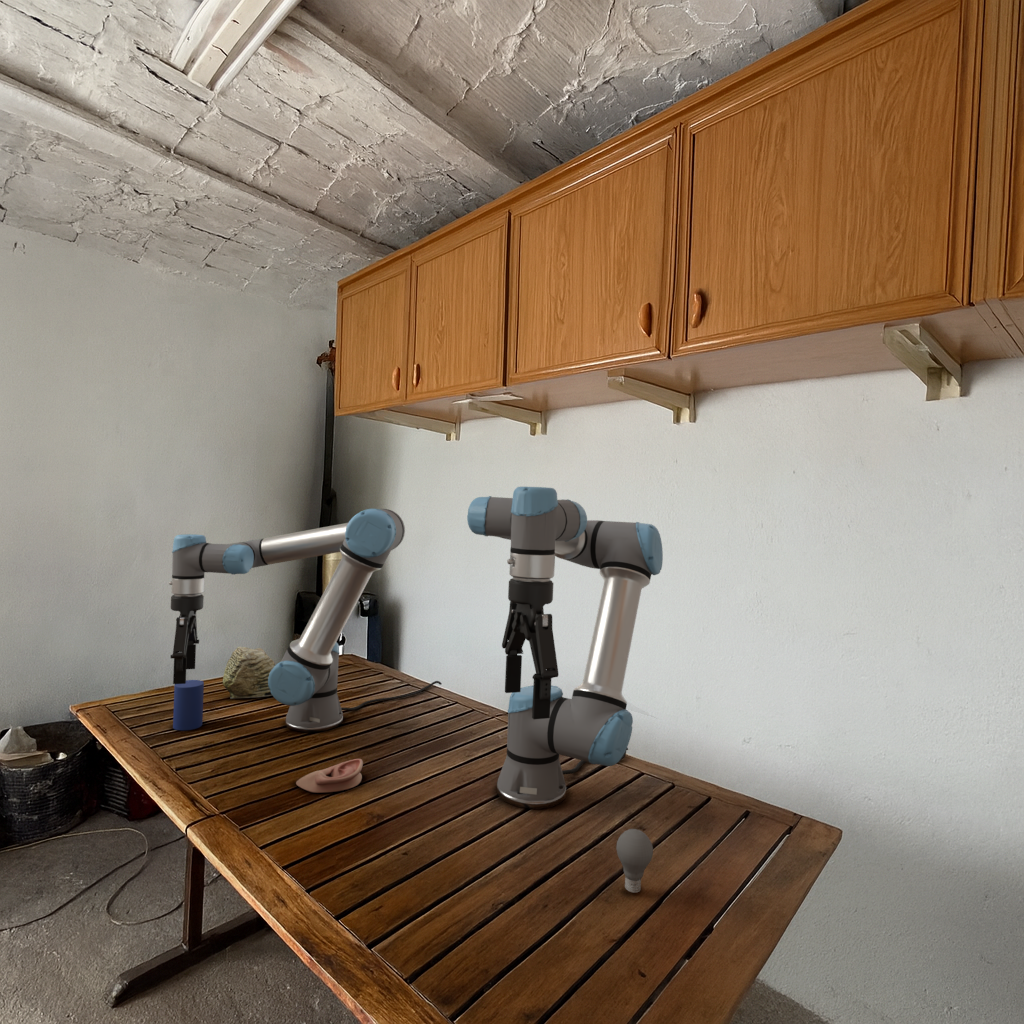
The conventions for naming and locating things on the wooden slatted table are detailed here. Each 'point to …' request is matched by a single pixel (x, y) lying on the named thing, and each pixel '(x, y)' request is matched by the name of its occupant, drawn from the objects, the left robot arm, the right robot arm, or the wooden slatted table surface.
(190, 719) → the blue cylinder
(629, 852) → the light bulb
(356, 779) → the anatomical model
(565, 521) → the right robot arm
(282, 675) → the left robot arm
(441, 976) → the wooden slatted table surface
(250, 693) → the fossil
